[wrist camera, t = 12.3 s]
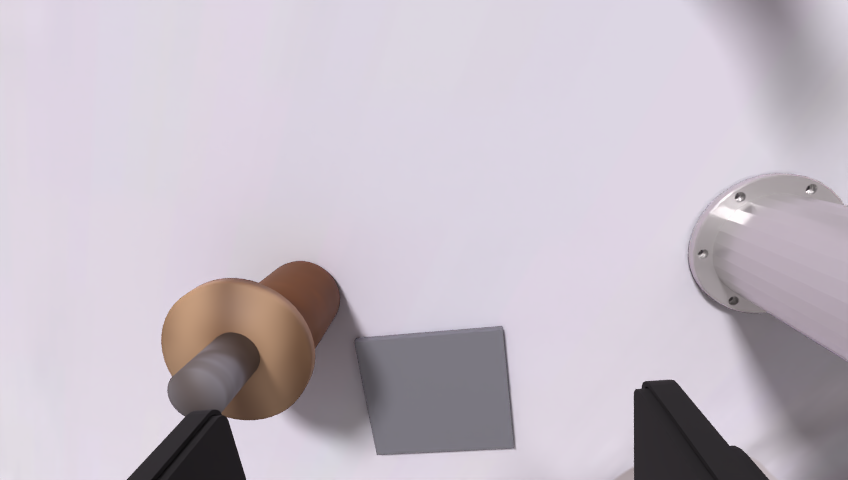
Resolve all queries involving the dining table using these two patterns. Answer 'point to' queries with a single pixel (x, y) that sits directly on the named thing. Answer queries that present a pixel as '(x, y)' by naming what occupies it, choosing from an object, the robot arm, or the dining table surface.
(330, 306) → the mug
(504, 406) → the rubber mat
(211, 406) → the copper lid
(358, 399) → the dining table surface
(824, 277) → the robot arm
